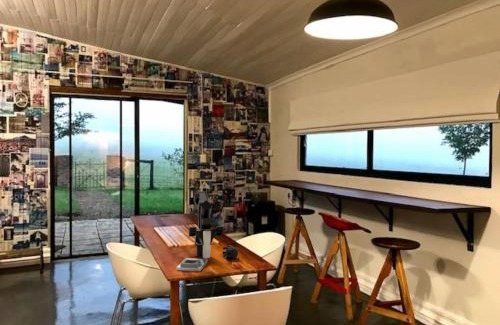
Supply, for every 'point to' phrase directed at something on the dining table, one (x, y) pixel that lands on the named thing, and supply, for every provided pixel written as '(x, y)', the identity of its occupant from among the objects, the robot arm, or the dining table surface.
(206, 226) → the robot arm
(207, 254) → the white tapered cylinder
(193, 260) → the jig
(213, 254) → the dining table surface
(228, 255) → the end cap
